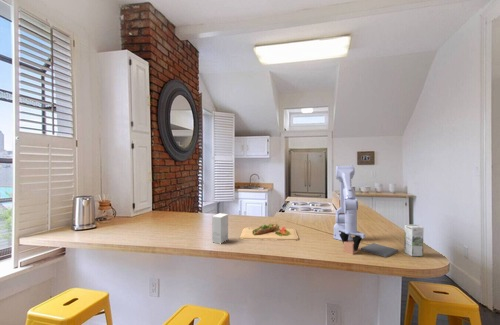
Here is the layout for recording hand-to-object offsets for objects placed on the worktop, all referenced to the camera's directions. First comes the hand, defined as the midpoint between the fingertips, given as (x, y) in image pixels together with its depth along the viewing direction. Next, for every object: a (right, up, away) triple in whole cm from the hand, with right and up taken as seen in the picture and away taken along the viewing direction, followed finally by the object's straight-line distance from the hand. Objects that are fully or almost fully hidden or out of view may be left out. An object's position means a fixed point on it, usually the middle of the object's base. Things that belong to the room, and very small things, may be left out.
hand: (350, 249), depth 128 cm
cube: (0, -2, 0) cm, 2 cm away
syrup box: (+29, -2, -4) cm, 30 cm away
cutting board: (-40, -3, +32) cm, 51 cm away
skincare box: (-69, -2, +18) cm, 71 cm away
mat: (+15, -1, +1) cm, 15 cm away
